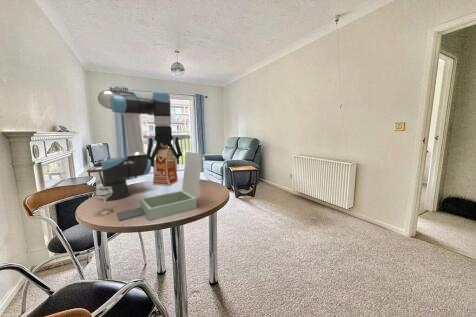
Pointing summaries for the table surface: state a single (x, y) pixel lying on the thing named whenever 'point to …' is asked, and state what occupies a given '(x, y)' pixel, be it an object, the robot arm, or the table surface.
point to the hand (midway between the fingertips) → (165, 171)
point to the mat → (130, 214)
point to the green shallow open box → (168, 209)
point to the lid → (192, 173)
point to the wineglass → (104, 196)
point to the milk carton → (165, 167)
